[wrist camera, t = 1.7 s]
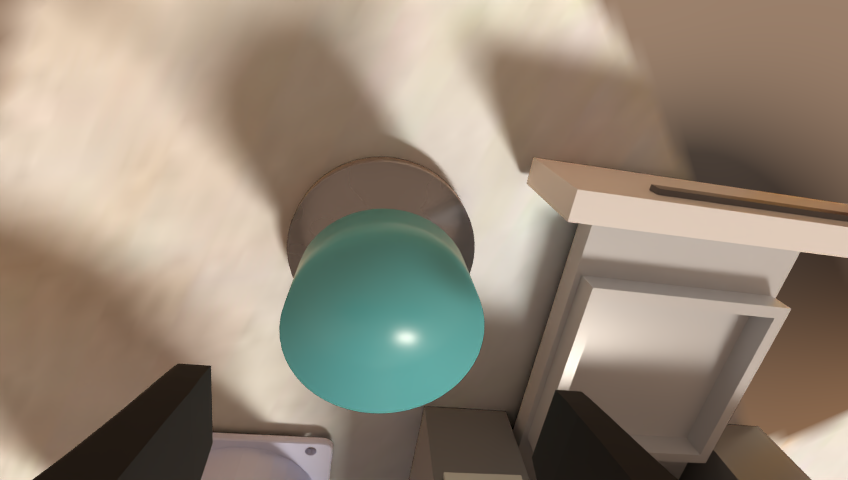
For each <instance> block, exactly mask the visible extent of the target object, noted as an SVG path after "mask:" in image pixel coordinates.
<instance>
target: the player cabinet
mask: <svg viewBox="0 0 848 480" xmlns="http://www.w3.org/2000/svg"><path fill="white" fill-rule="evenodd" d="M409 480H529V477H528V474H527V471H526V468H525V465H524V463H523V460H522V457H521V454H520V451H519V448H518V445H517V442H516V439H515V437H514V434H513V431H512V428H511V425H510V422H509V419H508V416H507V413H506V411H491V410H474V409H458V408H441V407H424V411H423V416H422V421H421V425H420V430H419V435H418V440H417V444H416V449H415V454H414V458H413V463H412V468H411V473H410V477H409ZM679 480H811V479H810V478H809V477H808V476H807V475H806V474H805V473H804V472H803V471H802V470H801V469H800V468H799V467H798V466H797V465H796V464H795V463H794V462H793V461H792V460H791V459H790V458H789V457H788V456H787V455H786V454H785V453H784V452H783V451H782V450H781V449H780V448H779V447H778V446H777V445H776V444H775V443H774V442H773V441H772V440H771V439H770V438H769V437H768V436H767V435H766V434H765V433H764V432H763V431H762V430H761V429H760V428H759V427H758V426H743V425H726V427H725V429H724V431H723V433H722V434H721V436H720V438H719V440H718V442H717V444H716V445H715V447H714V449H713V451H712V453H711V454H710V456H709V458H708V460H707V462H706V463H690V462H688V463H687V465H686V467H685V469H684V471H683V472H682V474H681V476H680V478H679Z"/></svg>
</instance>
